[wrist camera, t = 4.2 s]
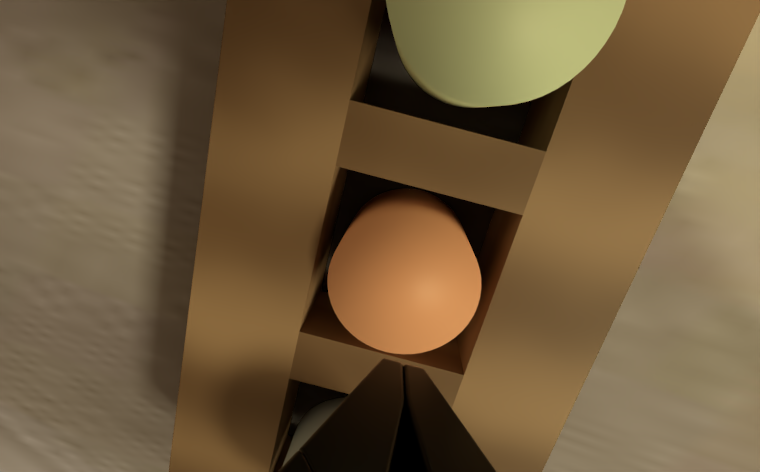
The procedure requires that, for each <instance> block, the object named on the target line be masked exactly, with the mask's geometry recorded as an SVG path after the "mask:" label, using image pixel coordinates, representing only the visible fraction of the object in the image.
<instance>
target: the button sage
mask: <svg viewBox="0 0 760 472" xmlns="http://www.w3.org/2000/svg"><path fill="white" fill-rule="evenodd" d="M625 2H626V0H386V4H387V10H388V15H389V20H390V24H391V27H392V31H393V35H394V39H395V43H396V47H397V50H398V53H399V57H400V59H401V61H402V63H403V65H404V68H405V69H406V71H407V72H408V74H409V76H410V77H411V78H412V79H413V81H414V82H415V83H416V84H417V85H418V86H419V87H420V88H421V89H422V90H423V91H424V92H426V93H427V94H429V95H430V96H431V97H433V98H435V99H437V100H439V101H441V102H443V103H446V104H449V105H452V106H457V107H463V108H478V107H491V106H504V105H514V104H518V103H523V102H528V101H530V100H533V99H536V98H539V97H542V96H544V95H546V94H548V93H550V92H552V91H554V90H556V89H558V88H559V87H561V86H562V85H564V84H565V83H567V82H568V81H570V80H571V79H572V78H574V77H575V76H576V75H577V74H578V73H579V72H581V71H582V70H583V69H584V68H585V67H586V66H587V65H588V64H589V63H590V62H591V61H592V60H593V59H594V58H595V56H596V55H597V54H598V52H599V51H600V50H601V49H602V47H603V46H604V45H605V43H606V42H607V40H608V38H609V37H610V35H611V33H612V32H613V30H614V28H615V27H616V24H617V22H618V20H619V18H620V15H621V13H622V11H623V8H624V5H625Z"/></svg>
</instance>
